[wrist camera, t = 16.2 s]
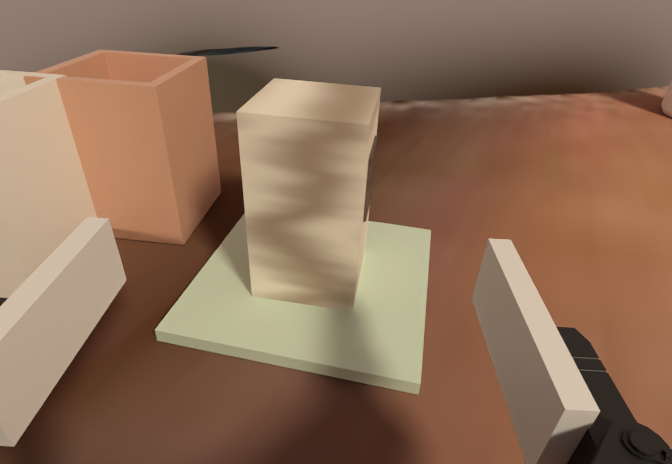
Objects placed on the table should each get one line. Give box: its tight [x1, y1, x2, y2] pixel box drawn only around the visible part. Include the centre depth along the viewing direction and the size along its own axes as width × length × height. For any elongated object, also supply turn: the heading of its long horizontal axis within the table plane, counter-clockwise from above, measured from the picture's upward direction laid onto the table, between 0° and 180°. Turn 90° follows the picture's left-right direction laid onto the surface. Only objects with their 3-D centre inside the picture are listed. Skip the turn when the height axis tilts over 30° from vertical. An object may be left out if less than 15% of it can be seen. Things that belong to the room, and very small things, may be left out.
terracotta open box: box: [23, 50, 221, 245], centre depth 32 cm, size 8×8×11 cm
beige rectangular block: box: [236, 78, 381, 311], centre depth 25 cm, size 6×6×11 cm
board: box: [155, 213, 431, 394], centre depth 28 cm, size 14×14×1 cm
